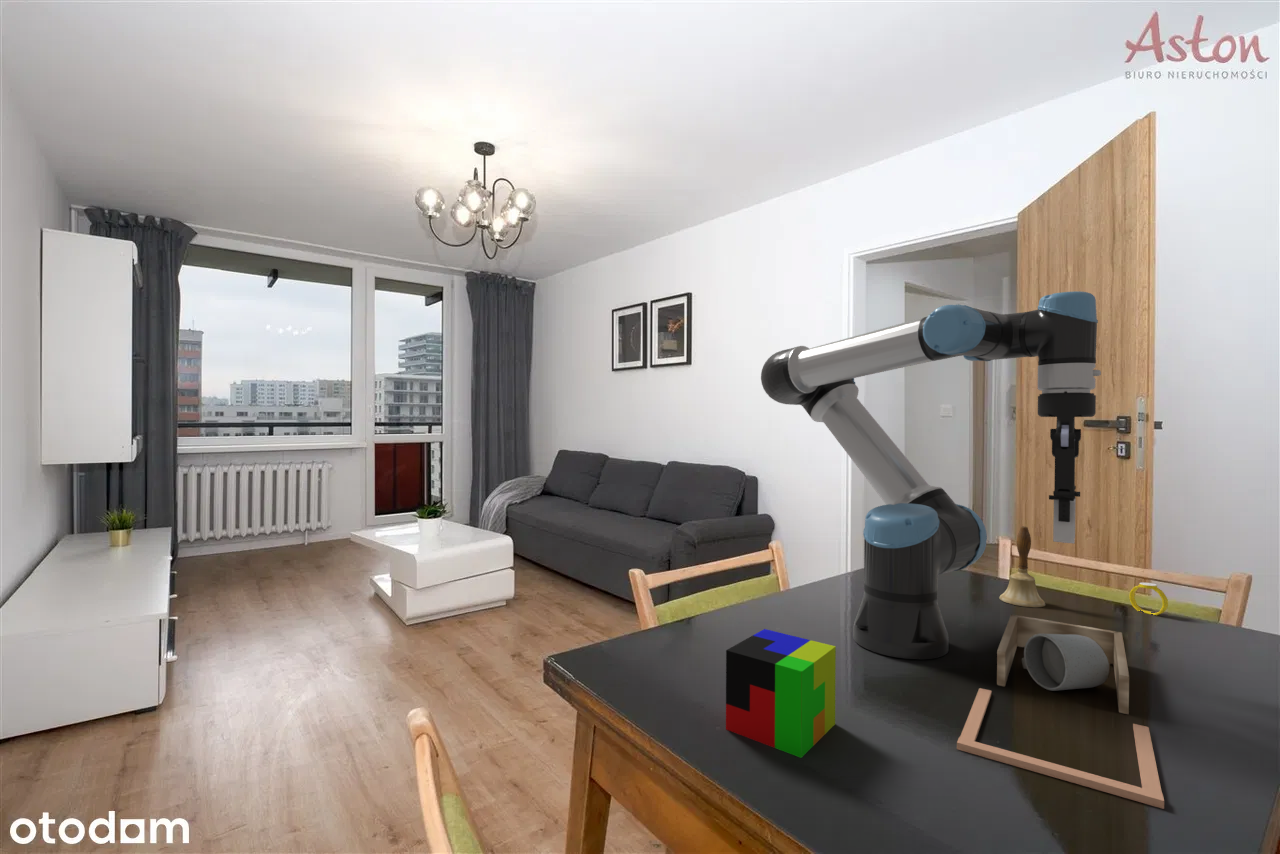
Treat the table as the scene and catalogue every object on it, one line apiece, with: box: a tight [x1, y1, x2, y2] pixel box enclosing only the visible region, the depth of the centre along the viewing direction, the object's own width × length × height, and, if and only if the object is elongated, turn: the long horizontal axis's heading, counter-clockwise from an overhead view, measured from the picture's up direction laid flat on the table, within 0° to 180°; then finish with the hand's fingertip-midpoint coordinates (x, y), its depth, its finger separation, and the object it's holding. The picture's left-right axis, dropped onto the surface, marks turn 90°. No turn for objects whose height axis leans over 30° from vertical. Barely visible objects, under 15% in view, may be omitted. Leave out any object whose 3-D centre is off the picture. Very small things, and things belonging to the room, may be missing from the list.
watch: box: [1128, 582, 1169, 616], centre depth 122 cm, size 6×3×6 cm, turn 26°
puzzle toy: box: [725, 628, 837, 759], centre depth 77 cm, size 10×10×10 cm
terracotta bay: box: [956, 687, 1165, 810], centre depth 74 cm, size 18×19×1 cm
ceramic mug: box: [1021, 634, 1111, 692], centre depth 90 cm, size 11×8×8 cm
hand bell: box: [998, 525, 1046, 608], centre depth 129 cm, size 8×8×16 cm
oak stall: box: [996, 614, 1130, 715], centre depth 93 cm, size 15×20×5 cm
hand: (1064, 539), depth 97 cm, fingers open, 4 cm apart
